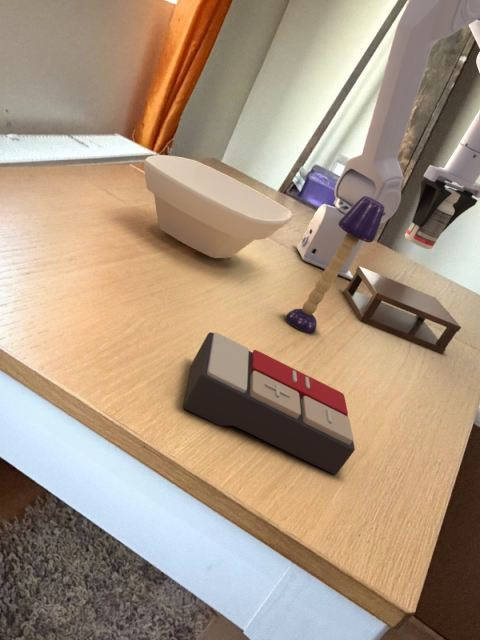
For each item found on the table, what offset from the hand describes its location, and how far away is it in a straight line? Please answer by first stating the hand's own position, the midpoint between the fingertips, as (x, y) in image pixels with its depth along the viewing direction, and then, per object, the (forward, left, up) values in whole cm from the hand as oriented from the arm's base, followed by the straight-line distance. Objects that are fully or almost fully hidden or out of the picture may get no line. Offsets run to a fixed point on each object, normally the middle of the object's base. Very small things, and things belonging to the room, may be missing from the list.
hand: (426, 228), depth 135 cm
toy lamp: (-28, -48, -10) cm, 56 cm away
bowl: (-42, -30, -10) cm, 53 cm away
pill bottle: (0, 0, -3) cm, 3 cm away
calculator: (-38, -79, -10) cm, 88 cm away
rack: (-9, -29, -10) cm, 32 cm away
